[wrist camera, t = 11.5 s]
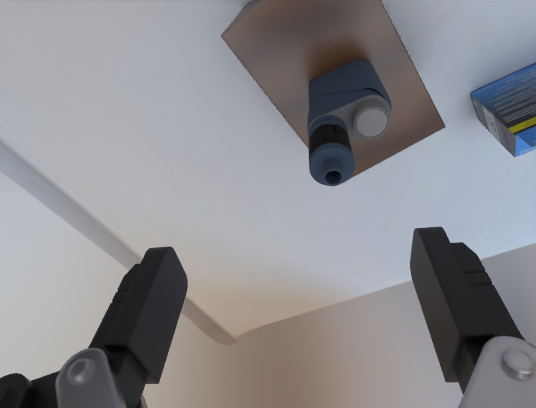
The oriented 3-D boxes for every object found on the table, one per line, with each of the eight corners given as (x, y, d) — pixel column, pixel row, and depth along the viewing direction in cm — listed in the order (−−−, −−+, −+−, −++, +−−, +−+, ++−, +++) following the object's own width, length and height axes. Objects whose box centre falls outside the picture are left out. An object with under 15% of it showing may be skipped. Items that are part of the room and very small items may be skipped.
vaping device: (300, 83, 26) (299, 166, 17) (368, 50, 25) (408, 123, 15) (313, 112, 28) (319, 204, 18) (378, 83, 26) (422, 168, 16)
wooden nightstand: (242, 9, 34) (220, 36, 25) (330, -72, 29) (342, -75, 20) (329, 131, 41) (337, 185, 32) (411, 80, 36) (445, 127, 28)
